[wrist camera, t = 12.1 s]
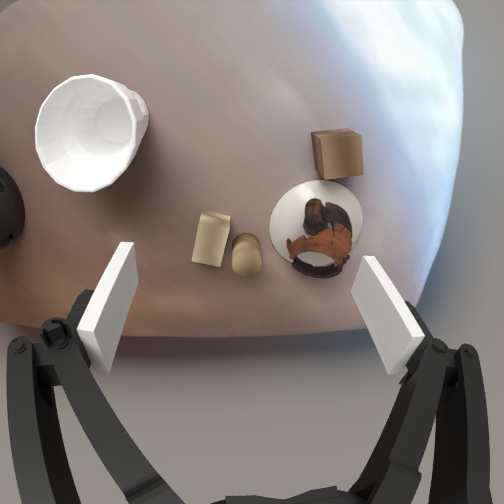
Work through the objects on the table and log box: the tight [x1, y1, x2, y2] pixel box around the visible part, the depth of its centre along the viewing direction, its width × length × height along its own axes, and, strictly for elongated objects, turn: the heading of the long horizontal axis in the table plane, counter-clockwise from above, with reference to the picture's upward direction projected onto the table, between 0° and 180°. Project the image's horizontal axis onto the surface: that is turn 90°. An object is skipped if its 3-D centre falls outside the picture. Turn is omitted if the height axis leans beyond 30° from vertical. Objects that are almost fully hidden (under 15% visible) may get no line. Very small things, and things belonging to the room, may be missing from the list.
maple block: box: [192, 210, 230, 267], centre depth 41 cm, size 4×6×4 cm, turn 165°
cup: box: [35, 74, 149, 192], centre depth 29 cm, size 12×12×11 cm
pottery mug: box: [286, 198, 353, 278], centre depth 40 cm, size 12×10×8 cm
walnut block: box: [311, 129, 363, 180], centre depth 35 cm, size 5×5×5 cm
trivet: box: [269, 180, 363, 266], centre depth 43 cm, size 14×14×1 cm
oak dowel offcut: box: [232, 233, 262, 277], centre depth 42 cm, size 4×4×5 cm
